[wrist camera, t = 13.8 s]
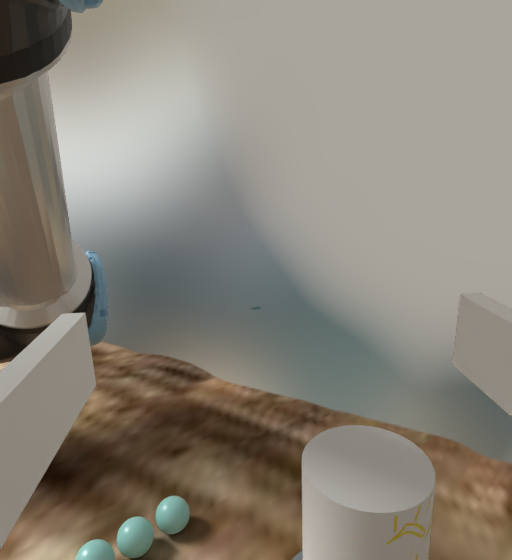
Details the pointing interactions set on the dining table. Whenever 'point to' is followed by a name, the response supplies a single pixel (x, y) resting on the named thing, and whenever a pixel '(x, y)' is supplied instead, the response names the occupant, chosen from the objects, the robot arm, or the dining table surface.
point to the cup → (366, 496)
